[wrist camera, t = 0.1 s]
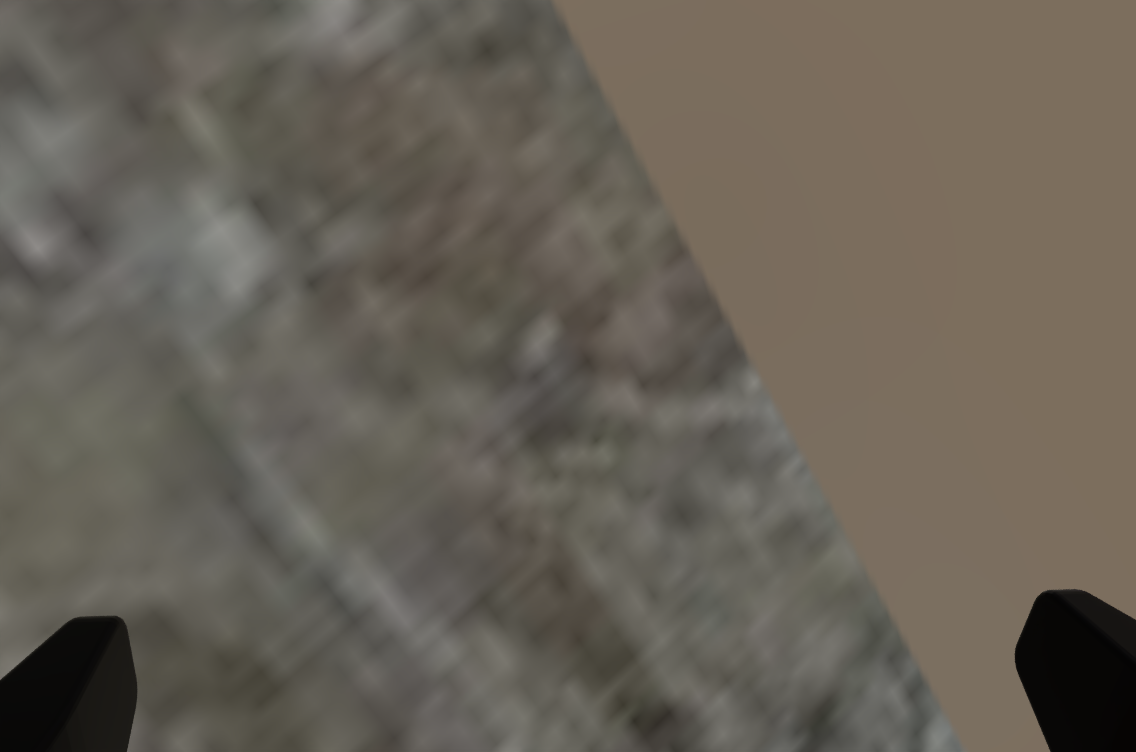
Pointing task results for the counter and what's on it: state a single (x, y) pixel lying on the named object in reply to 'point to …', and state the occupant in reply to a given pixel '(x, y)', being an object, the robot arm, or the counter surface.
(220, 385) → the counter surface
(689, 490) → the counter surface
